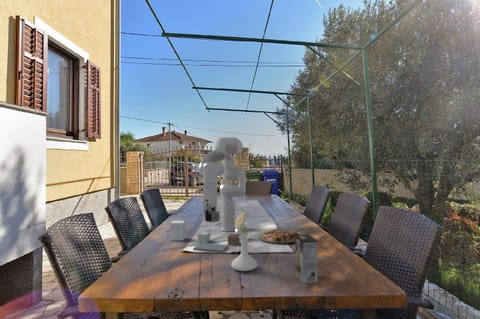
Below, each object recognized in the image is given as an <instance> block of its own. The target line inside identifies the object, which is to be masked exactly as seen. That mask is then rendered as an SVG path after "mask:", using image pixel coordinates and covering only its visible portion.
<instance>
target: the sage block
mask: <svg viewBox="0 0 480 319" xmlns="http://www.w3.org/2000/svg"><path fill="white" fill-rule="evenodd" d="M210 241H211V231H203V230H202V231H200V232H199V233H198V234H197V243H199V244H200V243H205V244H208V243H209V242H210Z"/></svg>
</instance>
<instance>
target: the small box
mask: <svg viewBox="0 0 480 319" xmlns="http://www.w3.org/2000/svg"><path fill="white" fill-rule="evenodd" d="M169 223H170V224H169V232H170V233H169V234H170V236H169V238H170V241H184V240H185V239H187V235H186V234H187V231H186V230H187V226H186V220H172V221H171V222H169Z"/></svg>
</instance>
